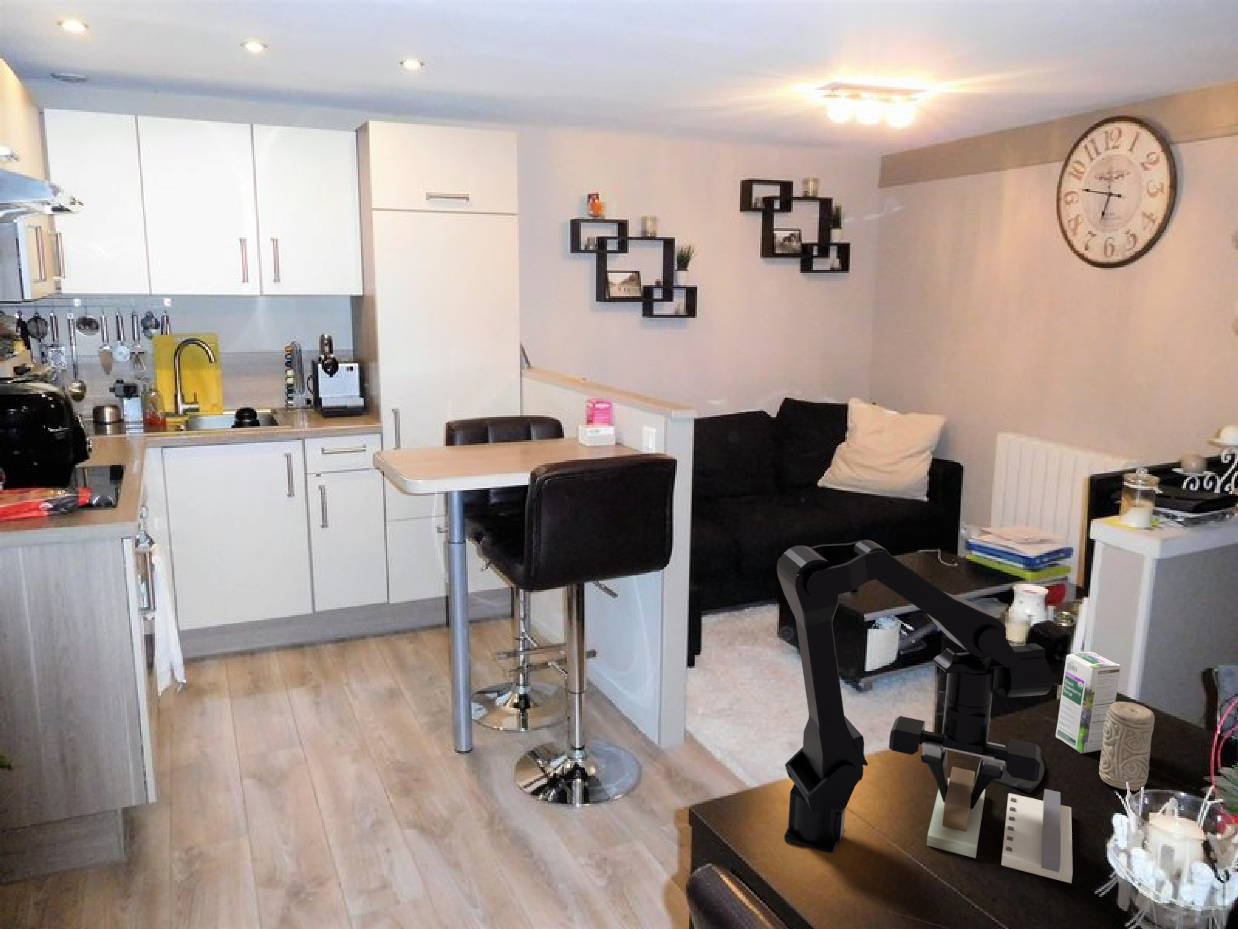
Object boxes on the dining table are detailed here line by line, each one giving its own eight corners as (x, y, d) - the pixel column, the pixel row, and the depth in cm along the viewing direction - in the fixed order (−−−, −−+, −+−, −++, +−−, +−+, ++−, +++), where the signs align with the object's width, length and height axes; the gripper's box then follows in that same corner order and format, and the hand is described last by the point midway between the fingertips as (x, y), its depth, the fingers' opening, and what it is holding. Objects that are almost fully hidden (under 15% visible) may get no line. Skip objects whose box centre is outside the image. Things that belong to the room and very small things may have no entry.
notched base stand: (1000, 868, 116) (1003, 846, 115) (1007, 801, 131) (1009, 781, 131) (1071, 886, 113) (1074, 864, 112) (1069, 815, 128) (1072, 795, 127)
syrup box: (1054, 737, 150) (1064, 653, 147) (1083, 732, 151) (1093, 649, 148) (1080, 754, 144) (1092, 668, 141) (1110, 749, 146) (1122, 664, 143)
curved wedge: (1061, 764, 142) (1063, 755, 142) (1030, 800, 132) (1031, 789, 132) (1007, 745, 148) (1008, 736, 147) (973, 778, 138) (974, 768, 138)
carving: (1150, 781, 137) (1161, 706, 135) (1140, 802, 131) (1151, 725, 129) (1103, 766, 141) (1113, 693, 138) (1091, 787, 135) (1101, 711, 133)
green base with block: (926, 845, 120) (929, 811, 119) (940, 785, 134) (943, 754, 133) (975, 858, 118) (979, 823, 117) (984, 796, 132) (987, 764, 131)
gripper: (1046, 688, 126) (1034, 792, 129) (905, 663, 134) (897, 761, 137) (1044, 723, 116) (1032, 834, 119) (892, 693, 124) (884, 798, 127)
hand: (958, 804), depth 126 cm, fingers closed on green base with block, 3 cm apart
